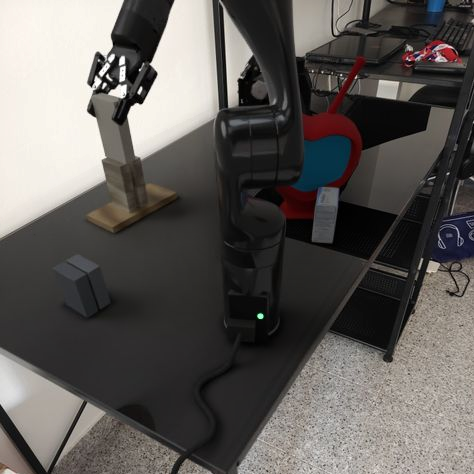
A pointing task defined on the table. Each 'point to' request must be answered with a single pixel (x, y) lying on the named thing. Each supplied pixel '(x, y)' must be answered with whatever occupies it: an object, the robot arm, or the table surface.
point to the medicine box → (325, 215)
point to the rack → (128, 196)
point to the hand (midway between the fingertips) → (104, 118)
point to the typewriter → (256, 92)
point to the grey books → (82, 285)
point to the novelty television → (324, 155)
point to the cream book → (113, 130)
